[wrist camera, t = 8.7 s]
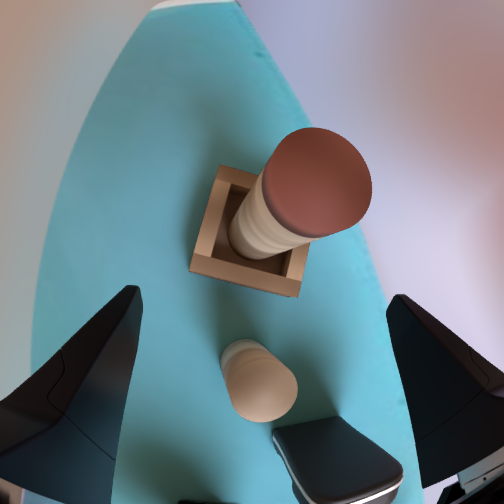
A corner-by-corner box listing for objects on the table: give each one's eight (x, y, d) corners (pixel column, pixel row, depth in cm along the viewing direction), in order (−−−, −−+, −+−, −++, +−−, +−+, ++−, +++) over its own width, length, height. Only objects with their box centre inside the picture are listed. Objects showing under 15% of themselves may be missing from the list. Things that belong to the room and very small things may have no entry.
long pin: (262, 270, 22) (348, 253, 10) (217, 243, 22) (249, 189, 9) (287, 227, 23) (384, 168, 11) (244, 200, 23) (301, 109, 10)
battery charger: (270, 459, 22) (313, 540, 10) (269, 427, 22) (318, 507, 11) (338, 444, 23) (404, 505, 12) (341, 413, 23) (416, 469, 12)
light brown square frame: (286, 296, 23) (298, 298, 21) (189, 271, 22) (188, 270, 19) (307, 204, 25) (320, 195, 22) (216, 176, 23) (219, 163, 21)
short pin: (262, 388, 22) (287, 425, 15) (215, 380, 22) (223, 417, 15) (274, 344, 23) (305, 366, 16) (226, 333, 22) (239, 355, 15)
